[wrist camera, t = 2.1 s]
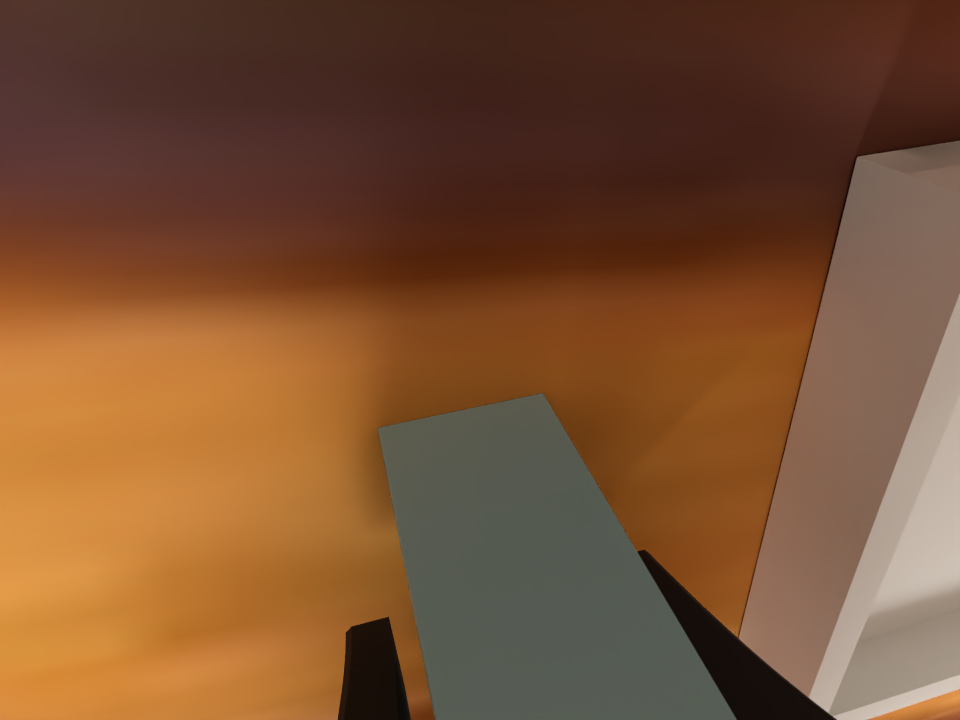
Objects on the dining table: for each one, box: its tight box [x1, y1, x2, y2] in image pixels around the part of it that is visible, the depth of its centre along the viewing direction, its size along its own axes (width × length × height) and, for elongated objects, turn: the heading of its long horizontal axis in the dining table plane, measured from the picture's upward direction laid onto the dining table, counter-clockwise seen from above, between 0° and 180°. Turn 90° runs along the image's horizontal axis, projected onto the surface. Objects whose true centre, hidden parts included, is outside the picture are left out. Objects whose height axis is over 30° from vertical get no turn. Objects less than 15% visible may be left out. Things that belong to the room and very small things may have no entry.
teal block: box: [378, 393, 737, 720], centre depth 10 cm, size 6×3×7 cm, turn 4°
